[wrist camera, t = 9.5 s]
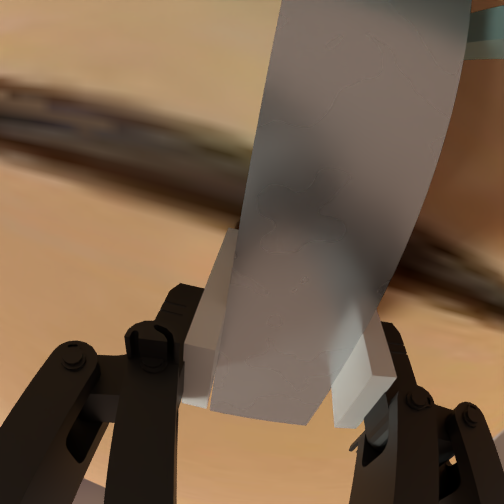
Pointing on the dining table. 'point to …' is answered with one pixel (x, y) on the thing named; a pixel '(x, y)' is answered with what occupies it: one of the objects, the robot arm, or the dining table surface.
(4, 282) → the dining table surface
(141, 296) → the dining table surface
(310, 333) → the grey bar
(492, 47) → the bridge
